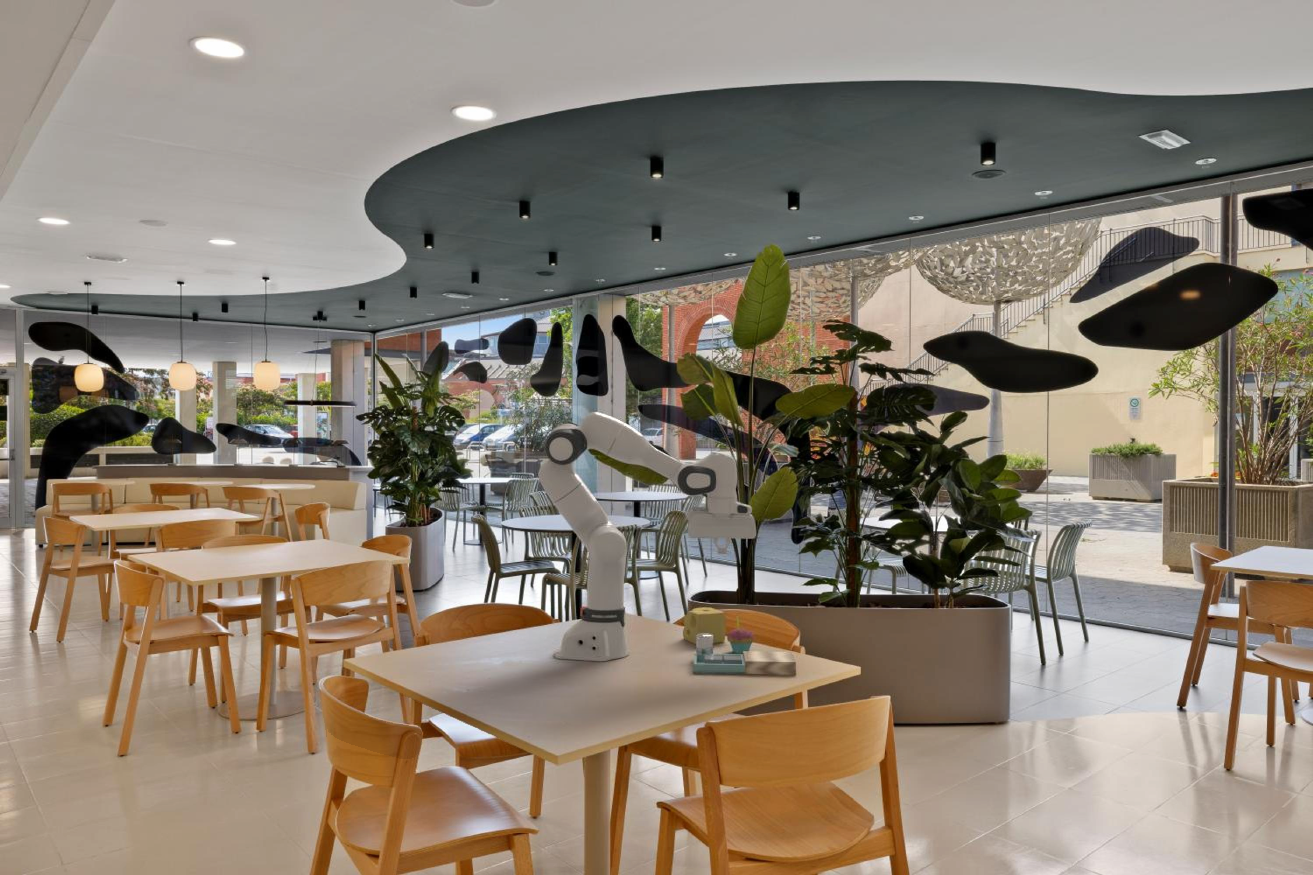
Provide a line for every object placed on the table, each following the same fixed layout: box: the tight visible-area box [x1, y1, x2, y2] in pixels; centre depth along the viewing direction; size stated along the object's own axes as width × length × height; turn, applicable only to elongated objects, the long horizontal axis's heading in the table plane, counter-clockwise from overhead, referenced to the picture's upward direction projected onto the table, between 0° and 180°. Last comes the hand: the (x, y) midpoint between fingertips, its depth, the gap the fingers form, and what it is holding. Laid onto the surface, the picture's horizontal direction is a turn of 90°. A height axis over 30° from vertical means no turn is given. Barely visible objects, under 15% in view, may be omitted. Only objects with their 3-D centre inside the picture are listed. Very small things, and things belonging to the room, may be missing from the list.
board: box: [743, 650, 797, 676], centre depth 257 cm, size 14×12×4 cm
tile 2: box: [723, 655, 742, 664], centre depth 258 cm, size 5×5×2 cm
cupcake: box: [726, 614, 756, 654], centre depth 278 cm, size 9×8×12 cm
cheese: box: [682, 606, 727, 645], centre depth 293 cm, size 10×11×10 cm
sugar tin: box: [695, 633, 714, 654], centre depth 269 cm, size 5×5×7 cm
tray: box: [693, 653, 746, 675], centre depth 258 cm, size 14×12×2 cm
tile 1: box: [705, 655, 722, 664], centre depth 258 cm, size 5×5×2 cm
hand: (722, 553), depth 270 cm, fingers closed
